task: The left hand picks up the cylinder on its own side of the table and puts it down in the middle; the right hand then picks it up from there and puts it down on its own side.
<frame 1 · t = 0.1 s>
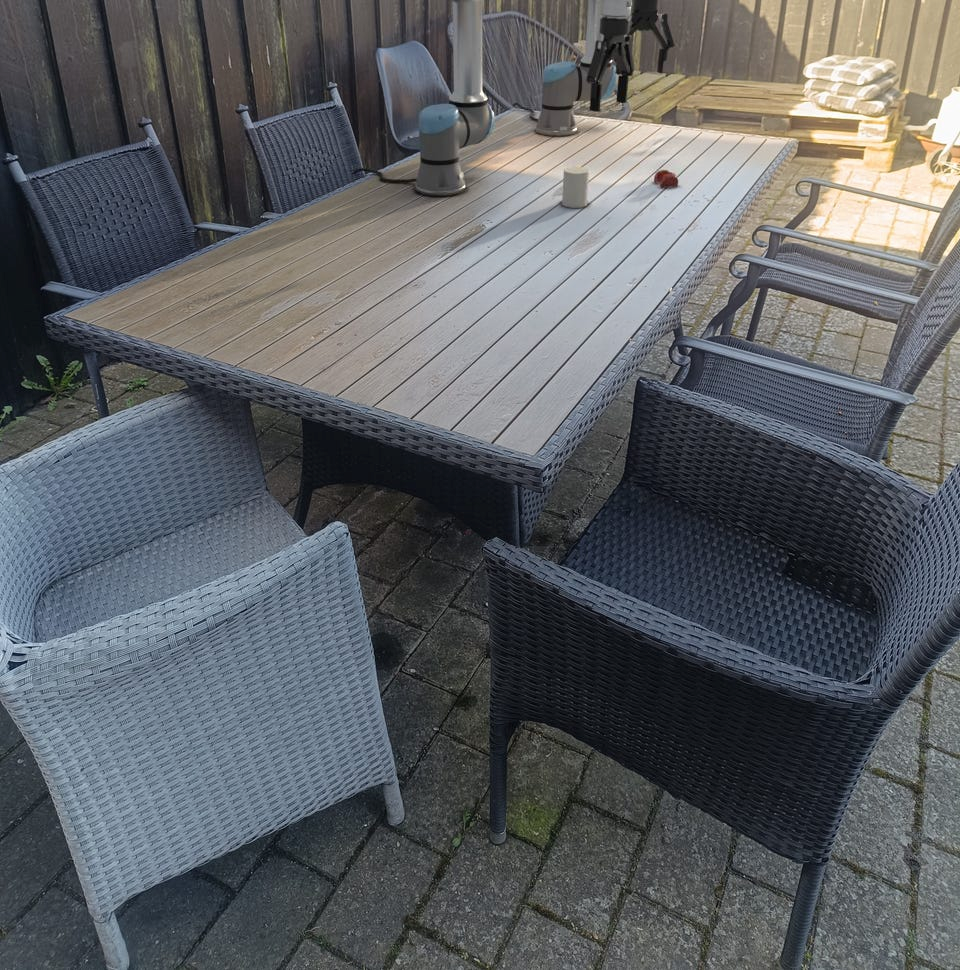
left hand: (608, 106, 226), 28 cm above the table, tool pointing down, fingers open, 13 cm apart
right hand: (638, 73, 265), 28 cm above the table, tool pointing down, fingers open, 13 cm apart
cylinder: (574, 204, 247), on the table
red rounded lump: (665, 184, 263), on the table
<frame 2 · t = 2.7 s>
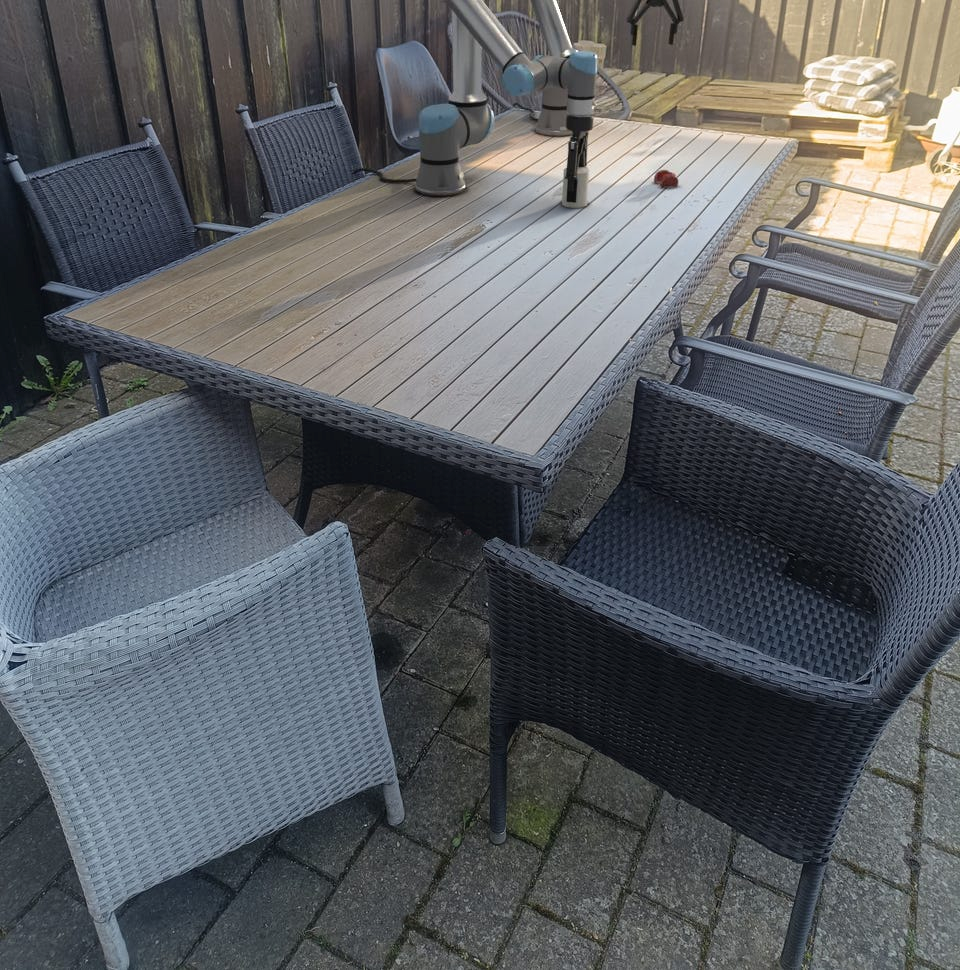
left hand: (574, 197, 246), 2 cm above the table, tool pointing down, fingers closed on cylinder, 7 cm apart
right hand: (652, 44, 301), 29 cm above the table, tool pointing down, fingers open, 13 cm apart
cylinder: (574, 204, 247), on the table, touching left hand
everything else where it was.
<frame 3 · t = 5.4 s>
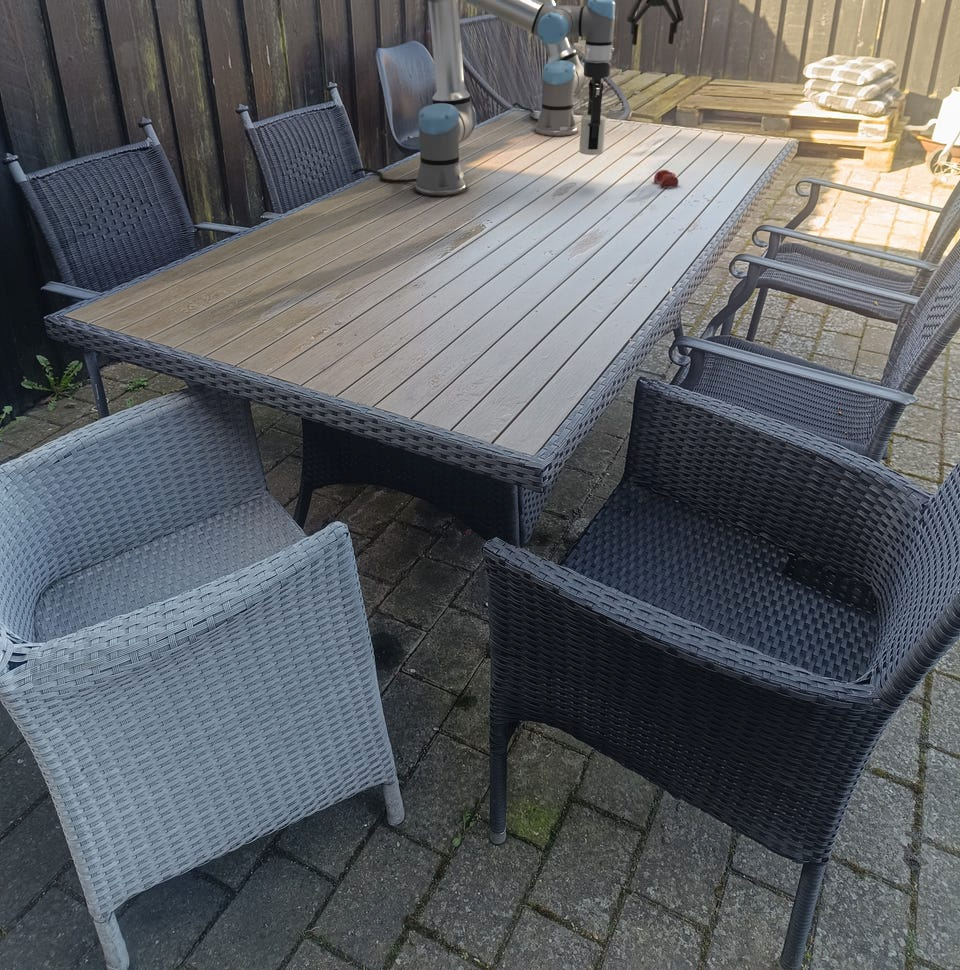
left hand: (591, 145, 251), 13 cm above the table, tool pointing down, fingers closed on cylinder, 7 cm apart
right hand: (652, 44, 303), 29 cm above the table, tool pointing down, fingers open, 13 cm apart
cylinder: (591, 151, 252), point 11 cm above the table, touching left hand
everything else where it was.
when the left hand's fingers open (4 cm above the table, at t = 8.0 s): cylinder drops 2 cm, on the table.
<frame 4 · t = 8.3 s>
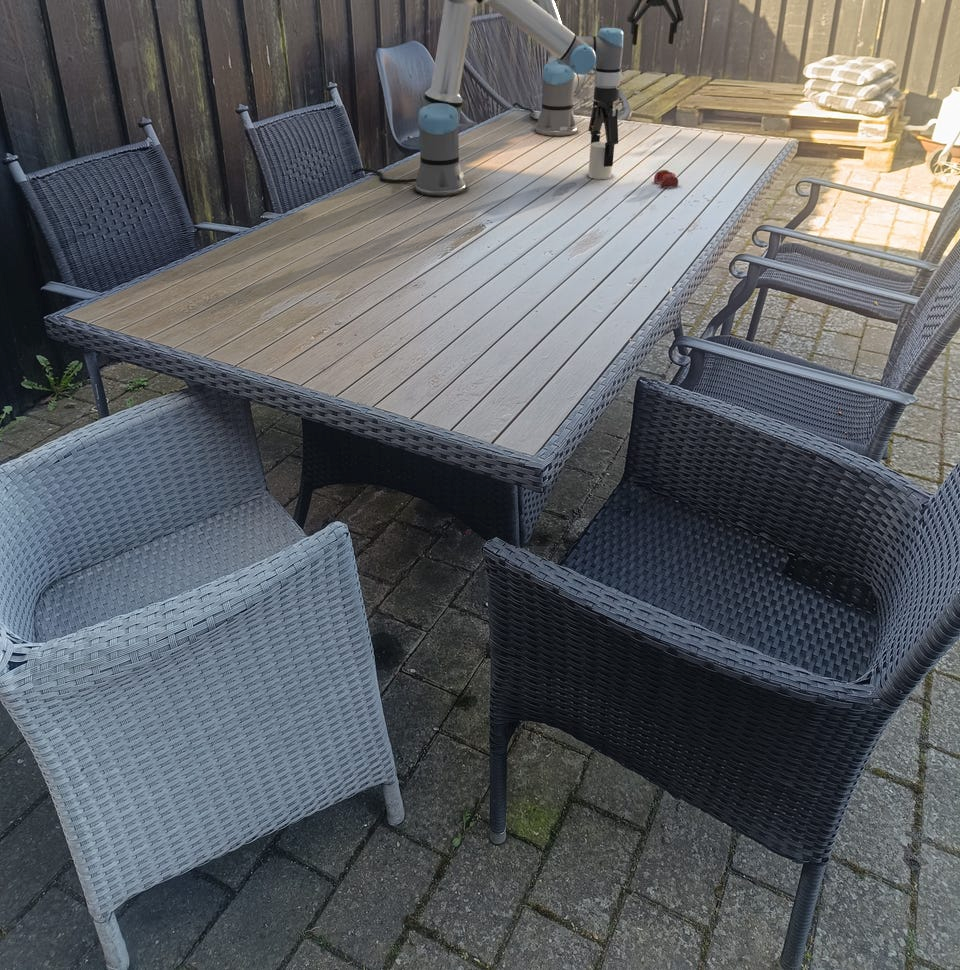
left hand: (600, 161, 268), 5 cm above the table, tool pointing down, fingers open, 11 cm apart
right hand: (652, 44, 303), 29 cm above the table, tool pointing down, fingers open, 13 cm apart
cylinder: (599, 176, 271), on the table
everything else where it was.
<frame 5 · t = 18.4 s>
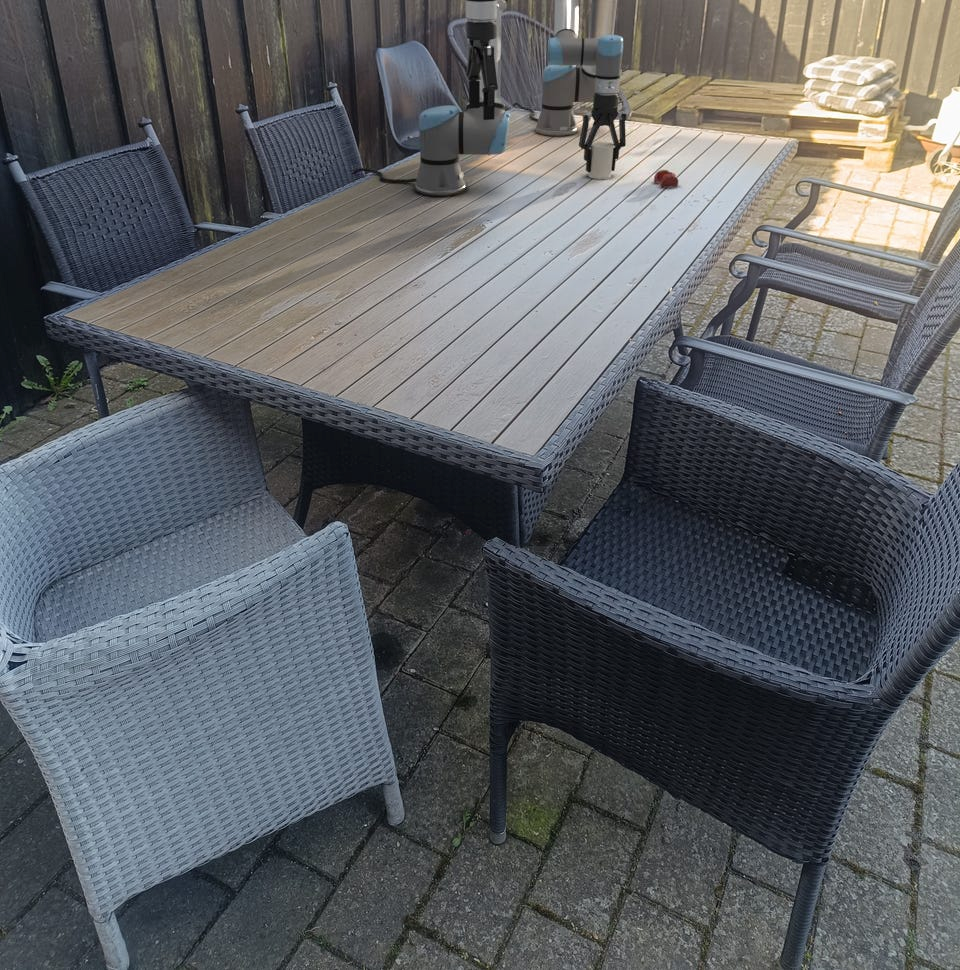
left hand: (481, 113, 217), 28 cm above the table, tool pointing down, fingers open, 13 cm apart
right hand: (600, 170, 269), 2 cm above the table, tool pointing down, fingers closed on cylinder, 7 cm apart
cylinder: (599, 176, 271), on the table, touching right hand
everything else where it was.
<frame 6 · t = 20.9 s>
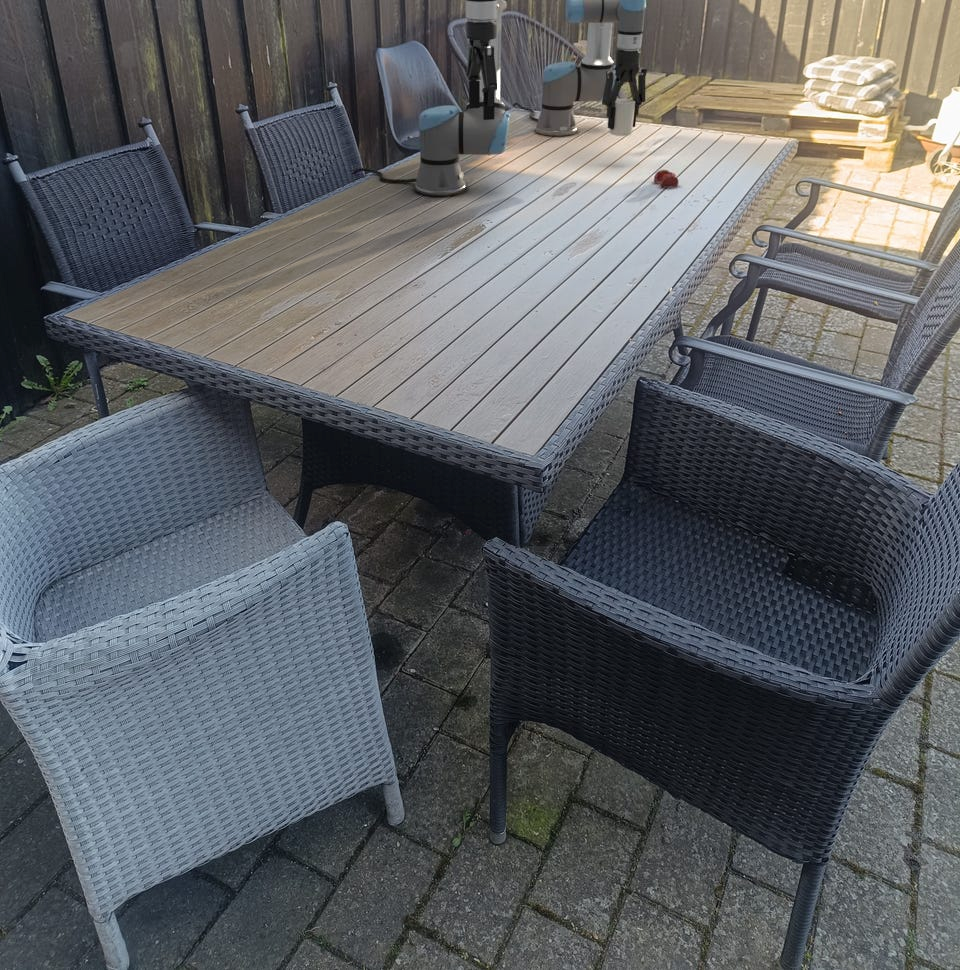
left hand: (481, 113, 217), 28 cm above the table, tool pointing down, fingers open, 13 cm apart
right hand: (621, 127, 273), 12 cm above the table, tool pointing down, fingers closed on cylinder, 7 cm apart
cylinder: (620, 133, 274), point 10 cm above the table, touching right hand
everything else where it was.
when the right hand's fingers open (4 cm above the table, at t = 23.7 s): cylinder drops 2 cm, on the table.
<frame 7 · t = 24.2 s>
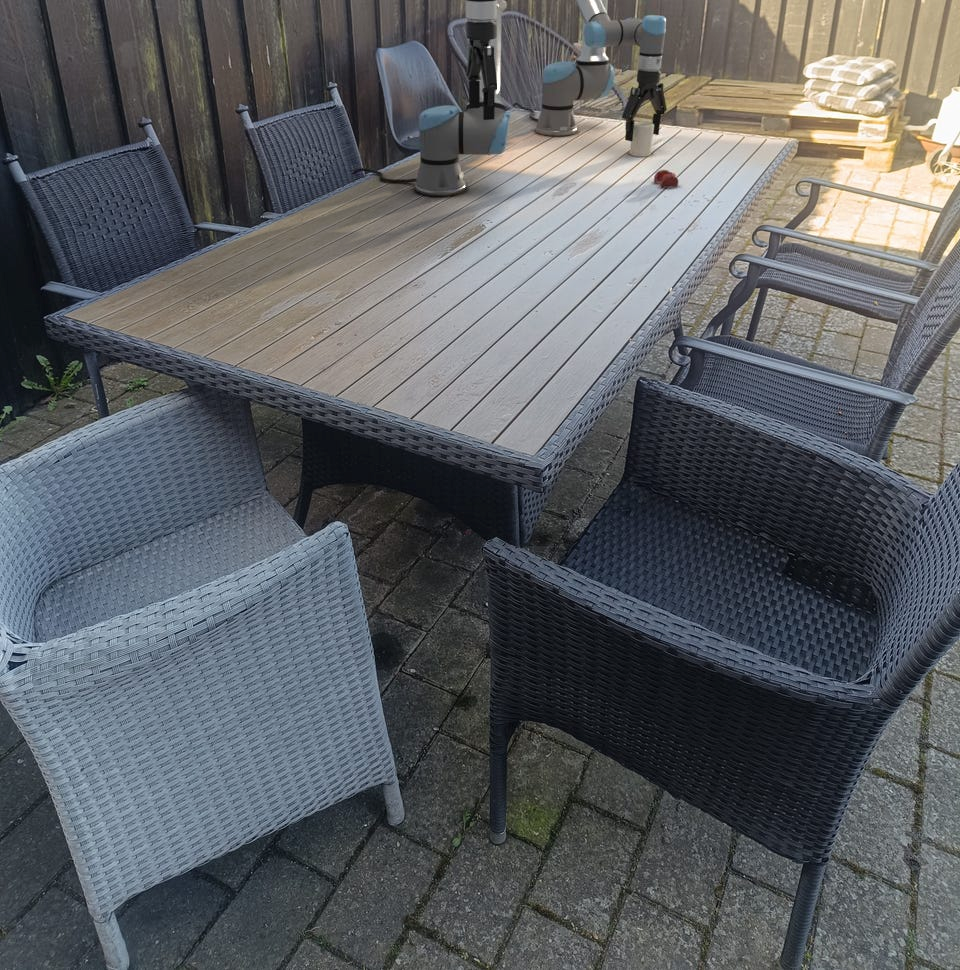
left hand: (481, 113, 217), 28 cm above the table, tool pointing down, fingers open, 13 cm apart
right hand: (641, 137, 289), 5 cm above the table, tool pointing down, fingers open, 13 cm apart
cylinder: (640, 153, 293), on the table
everything else where it was.
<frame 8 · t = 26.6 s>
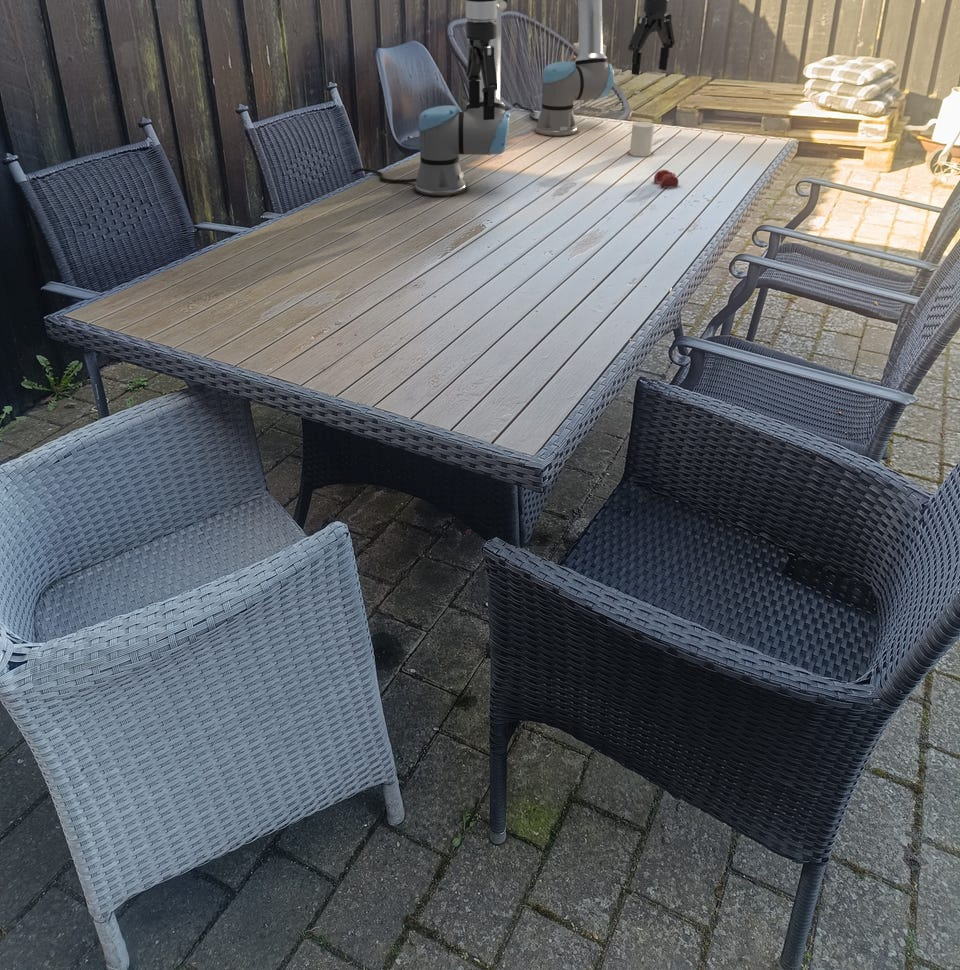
left hand: (481, 113, 217), 28 cm above the table, tool pointing down, fingers open, 13 cm apart
right hand: (649, 72, 277), 26 cm above the table, tool pointing down, fingers open, 13 cm apart
nothing on the table moved.
at the end: cylinder inside the target area (0.1 cm from its centre), on the table; cylinder tilted 0°; the two hands never held the cylinder at the same time; the left hand is holding nothing; the right hand is holding nothing; cylinder at rest at the end (0.0 cm/s) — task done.
